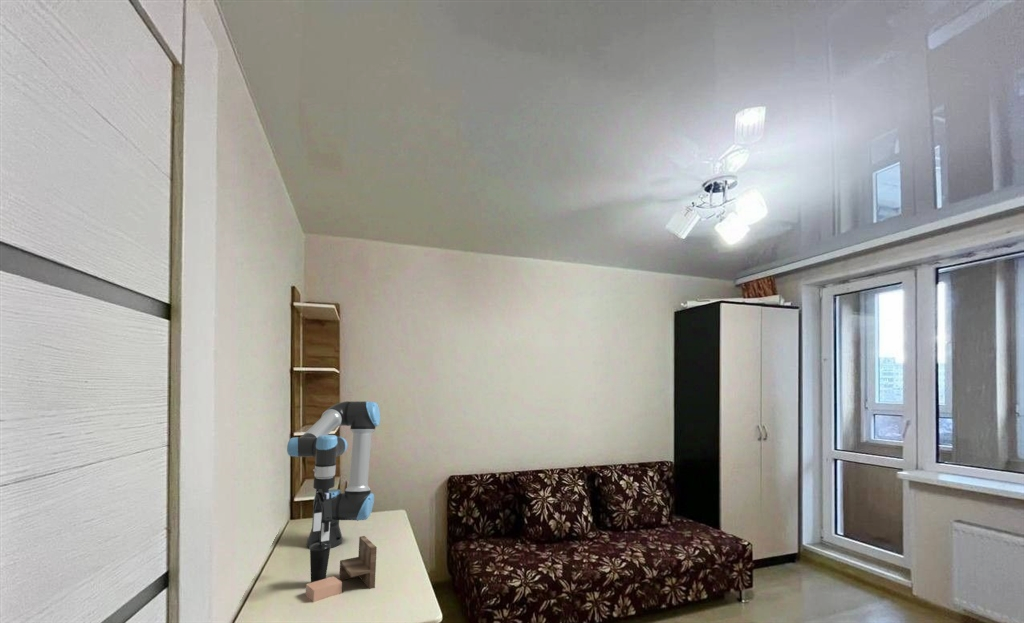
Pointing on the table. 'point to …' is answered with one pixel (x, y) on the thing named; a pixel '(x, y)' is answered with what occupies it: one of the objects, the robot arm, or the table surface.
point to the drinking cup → (319, 559)
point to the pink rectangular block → (323, 588)
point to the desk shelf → (361, 564)
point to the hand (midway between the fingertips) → (320, 535)
